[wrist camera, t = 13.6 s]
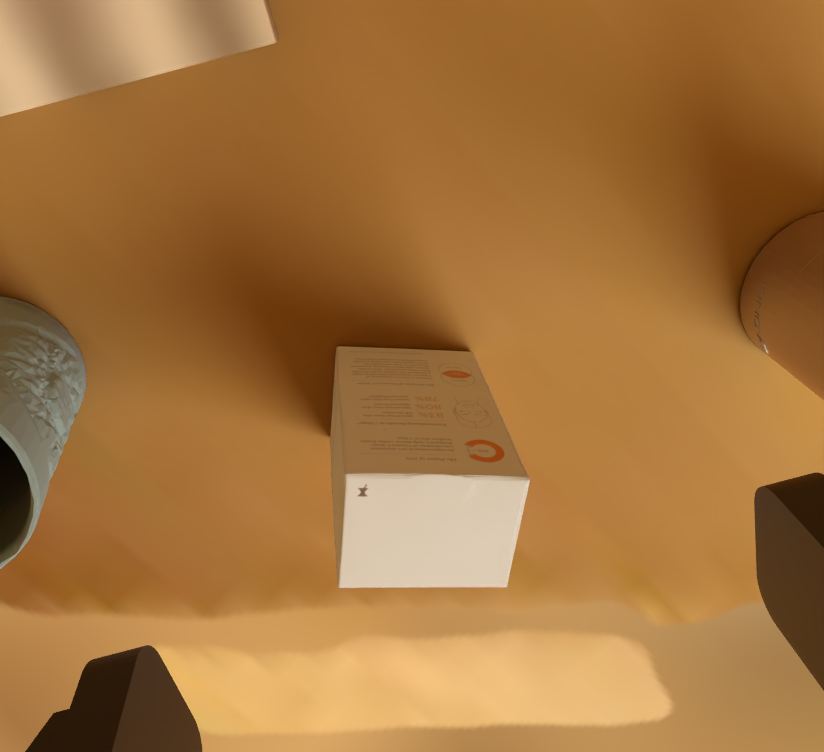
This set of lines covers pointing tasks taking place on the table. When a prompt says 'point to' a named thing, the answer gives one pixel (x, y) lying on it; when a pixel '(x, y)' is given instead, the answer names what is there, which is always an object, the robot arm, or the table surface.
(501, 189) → the table surface
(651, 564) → the table surface
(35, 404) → the grey cylindrical piece
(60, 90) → the maple base
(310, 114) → the table surface
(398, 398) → the small box
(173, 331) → the table surface
